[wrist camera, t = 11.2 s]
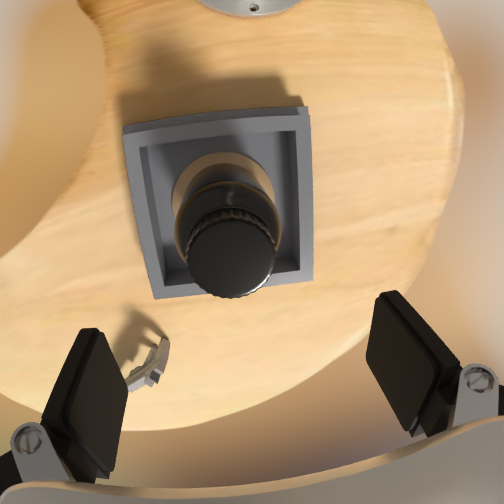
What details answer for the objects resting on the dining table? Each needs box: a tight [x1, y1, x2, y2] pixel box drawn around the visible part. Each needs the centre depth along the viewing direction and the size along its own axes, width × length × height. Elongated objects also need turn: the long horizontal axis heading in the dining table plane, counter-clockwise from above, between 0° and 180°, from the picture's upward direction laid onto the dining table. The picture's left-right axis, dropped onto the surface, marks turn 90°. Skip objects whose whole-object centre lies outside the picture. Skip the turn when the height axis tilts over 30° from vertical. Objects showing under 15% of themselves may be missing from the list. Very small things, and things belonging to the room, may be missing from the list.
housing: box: [122, 106, 313, 299], centre depth 27 cm, size 16×16×4 cm
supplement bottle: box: [174, 163, 282, 299], centre depth 22 cm, size 7×7×12 cm
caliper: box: [124, 337, 170, 392], centre depth 33 cm, size 20×1×6 cm, turn 134°
